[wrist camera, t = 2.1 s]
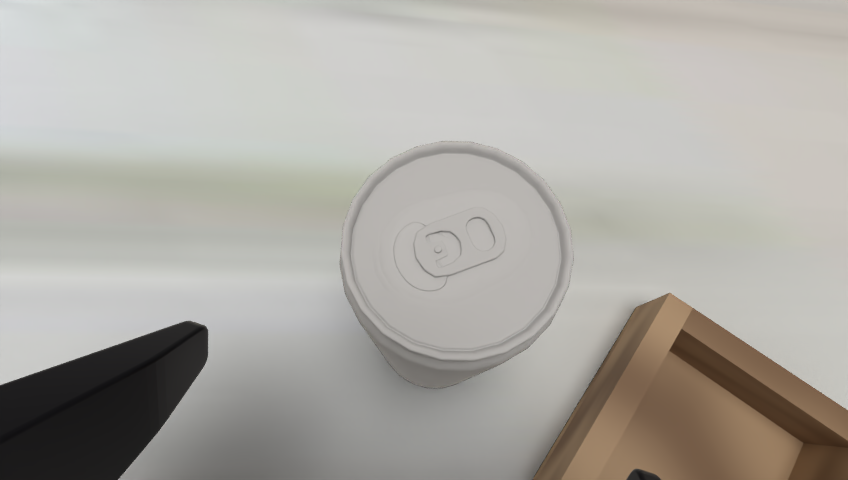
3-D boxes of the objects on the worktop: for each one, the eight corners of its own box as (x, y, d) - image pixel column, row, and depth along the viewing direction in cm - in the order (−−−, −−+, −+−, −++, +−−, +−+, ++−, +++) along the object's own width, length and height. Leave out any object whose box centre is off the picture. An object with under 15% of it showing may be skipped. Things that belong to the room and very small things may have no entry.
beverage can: (365, 301, 20) (302, 177, 9) (463, 264, 21) (515, 106, 10) (402, 406, 19) (382, 412, 8) (506, 363, 20) (628, 311, 8)
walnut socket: (739, 653, 16) (804, 703, 14) (529, 484, 18) (549, 499, 15) (827, 437, 19) (897, 443, 16) (636, 307, 21) (669, 292, 18)
